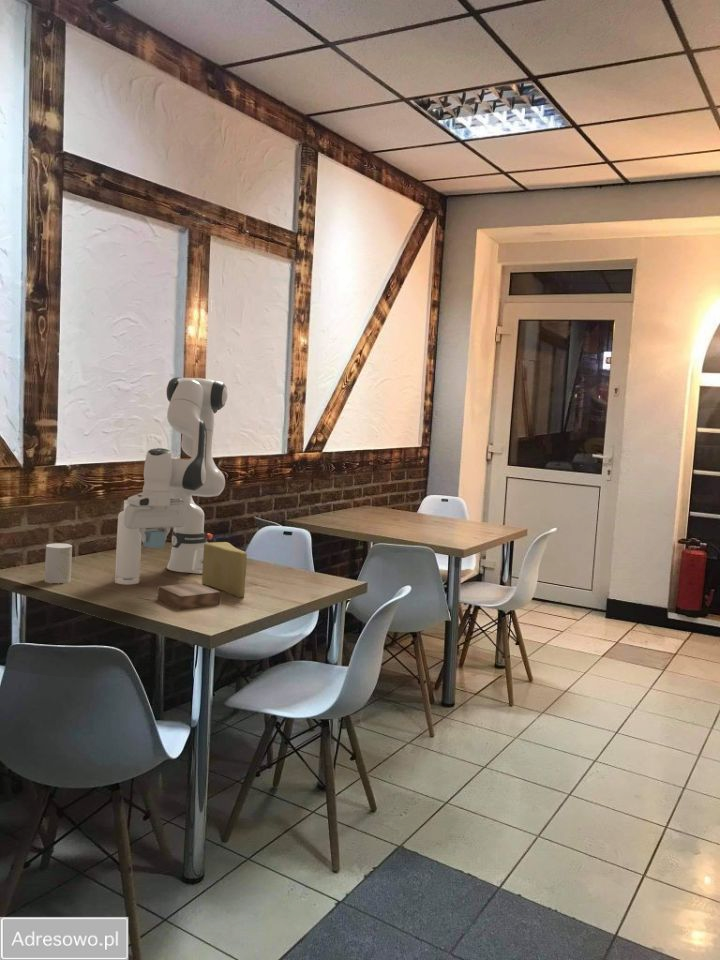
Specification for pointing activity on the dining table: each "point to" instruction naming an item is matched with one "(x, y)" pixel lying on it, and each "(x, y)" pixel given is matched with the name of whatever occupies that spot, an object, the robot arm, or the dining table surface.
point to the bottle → (127, 552)
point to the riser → (188, 595)
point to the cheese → (224, 568)
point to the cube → (155, 539)
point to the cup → (58, 563)
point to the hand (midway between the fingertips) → (154, 541)
